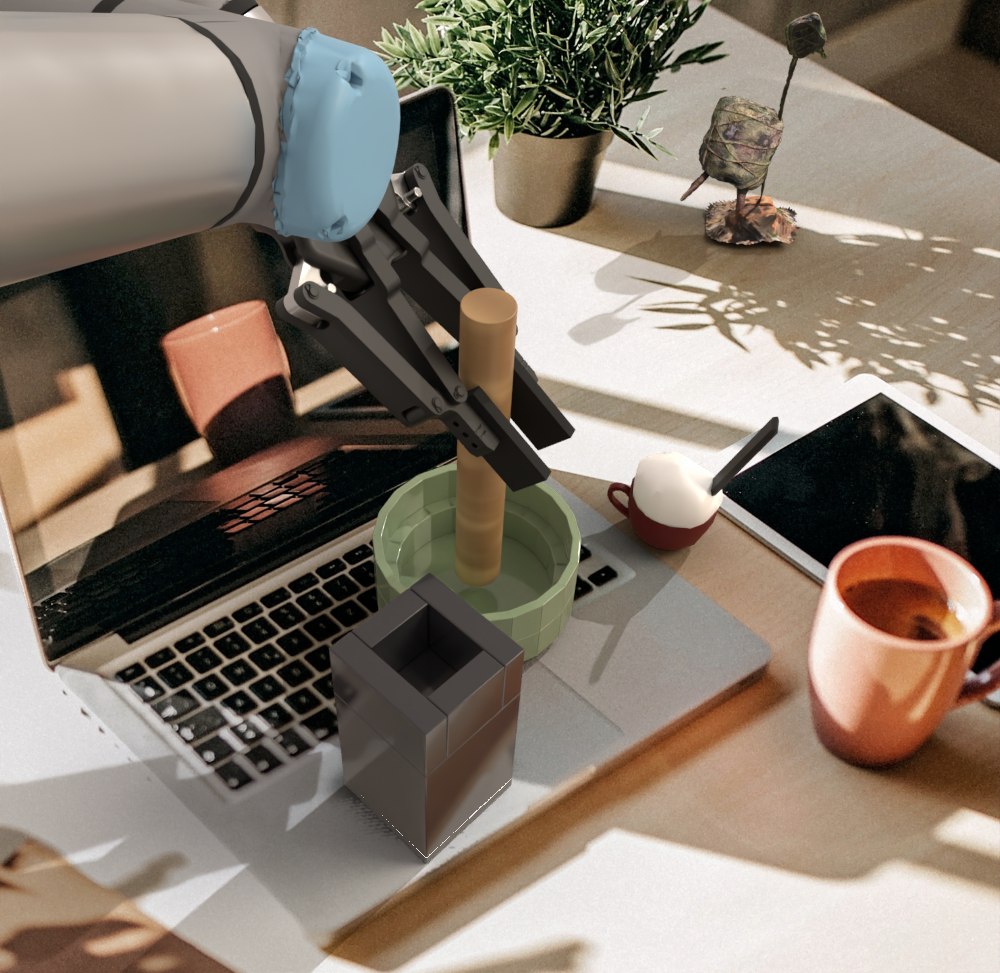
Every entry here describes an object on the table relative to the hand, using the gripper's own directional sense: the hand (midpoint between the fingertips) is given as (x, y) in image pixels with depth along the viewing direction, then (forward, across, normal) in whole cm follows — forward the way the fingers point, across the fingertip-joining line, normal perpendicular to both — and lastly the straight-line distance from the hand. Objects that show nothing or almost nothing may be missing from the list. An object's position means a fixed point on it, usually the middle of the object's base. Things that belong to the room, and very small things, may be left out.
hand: (544, 460), depth 66 cm
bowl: (+8, 0, -13) cm, 15 cm away
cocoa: (+15, -11, -6) cm, 20 cm away
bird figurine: (+11, -50, -10) cm, 52 cm away
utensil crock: (+10, +14, -11) cm, 20 cm away
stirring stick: (+6, 0, -11) cm, 13 cm away
